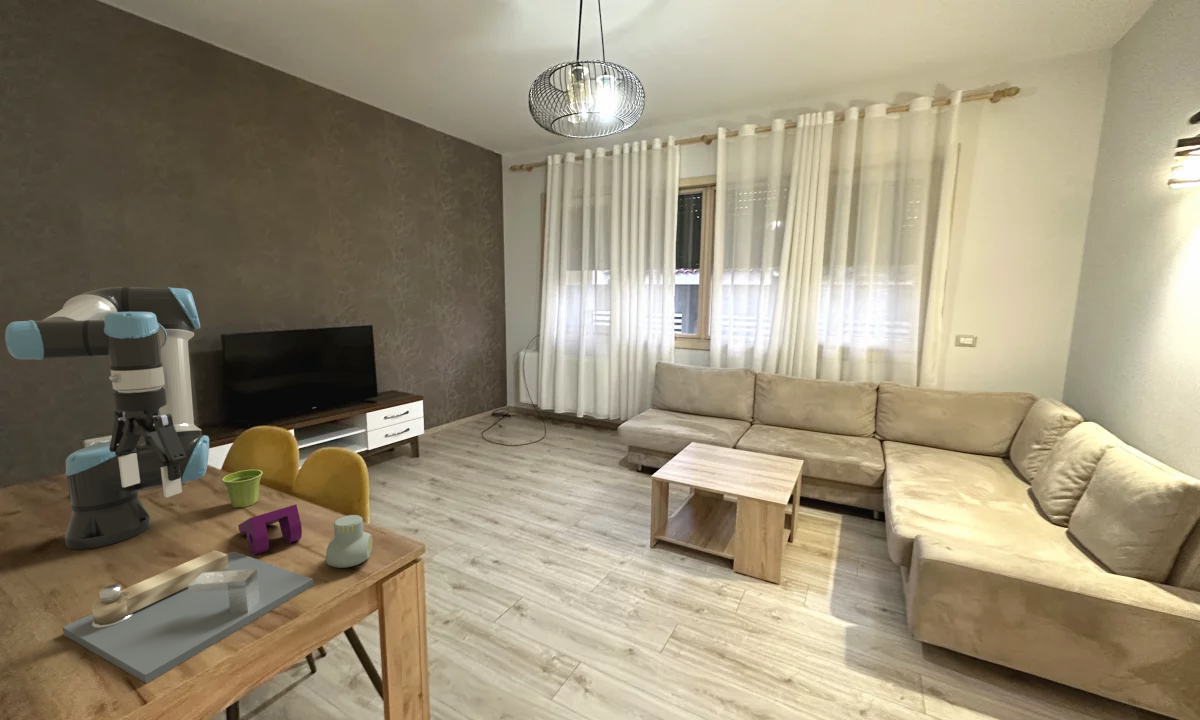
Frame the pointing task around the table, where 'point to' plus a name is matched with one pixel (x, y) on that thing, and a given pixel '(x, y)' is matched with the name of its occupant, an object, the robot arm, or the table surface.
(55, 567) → the table surface
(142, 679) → the slate board
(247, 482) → the plant pot
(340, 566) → the air freshener
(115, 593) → the cylinder
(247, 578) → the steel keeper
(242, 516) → the table surface
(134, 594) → the brass bar
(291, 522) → the mounting bracket
